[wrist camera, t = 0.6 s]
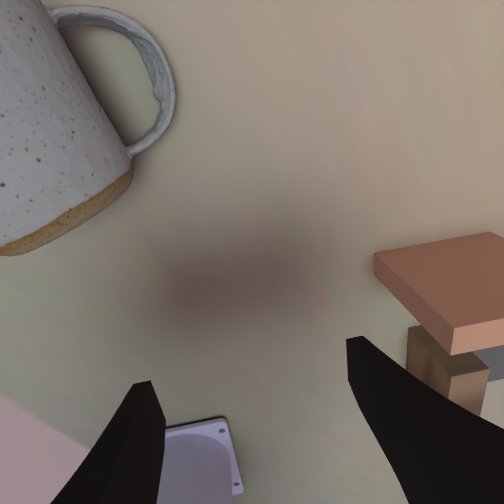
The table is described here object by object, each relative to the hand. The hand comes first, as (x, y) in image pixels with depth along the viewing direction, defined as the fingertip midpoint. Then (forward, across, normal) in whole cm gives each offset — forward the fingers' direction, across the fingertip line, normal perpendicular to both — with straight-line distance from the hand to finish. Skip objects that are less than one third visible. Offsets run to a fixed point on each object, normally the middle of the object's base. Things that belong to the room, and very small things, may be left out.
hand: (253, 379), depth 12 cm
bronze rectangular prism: (+10, -13, +12) cm, 20 cm away
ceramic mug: (+10, +6, -10) cm, 16 cm away
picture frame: (+10, -13, +2) cm, 17 cm away
